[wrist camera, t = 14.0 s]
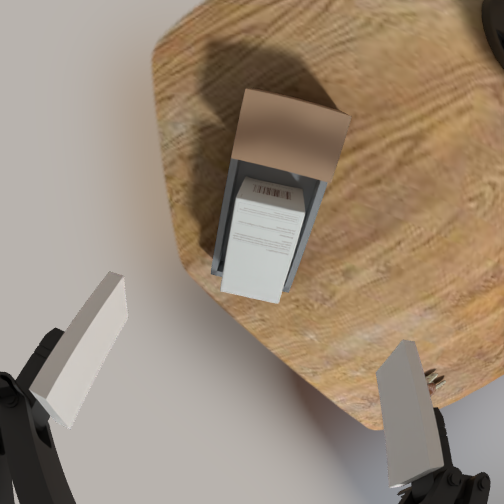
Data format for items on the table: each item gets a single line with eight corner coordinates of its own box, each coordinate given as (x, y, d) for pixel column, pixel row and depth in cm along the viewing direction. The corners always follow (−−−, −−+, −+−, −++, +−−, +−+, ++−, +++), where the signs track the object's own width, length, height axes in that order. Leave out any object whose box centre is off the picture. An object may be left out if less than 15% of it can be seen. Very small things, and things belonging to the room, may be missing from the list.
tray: (236, 147, 34) (232, 152, 31) (325, 169, 34) (329, 177, 31) (215, 261, 43) (210, 274, 40) (288, 278, 43) (288, 292, 40)
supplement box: (244, 174, 35) (228, 259, 42) (235, 196, 29) (218, 293, 35) (304, 188, 35) (280, 270, 42) (308, 213, 29) (278, 306, 36)
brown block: (253, 88, 30) (245, 88, 24) (339, 110, 30) (351, 116, 24) (241, 143, 33) (230, 158, 28) (323, 164, 34) (330, 183, 28)
